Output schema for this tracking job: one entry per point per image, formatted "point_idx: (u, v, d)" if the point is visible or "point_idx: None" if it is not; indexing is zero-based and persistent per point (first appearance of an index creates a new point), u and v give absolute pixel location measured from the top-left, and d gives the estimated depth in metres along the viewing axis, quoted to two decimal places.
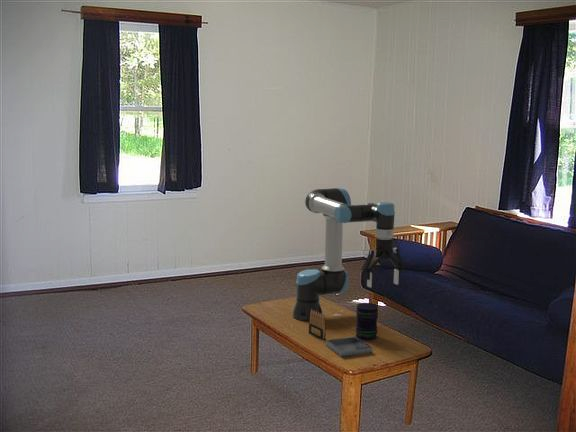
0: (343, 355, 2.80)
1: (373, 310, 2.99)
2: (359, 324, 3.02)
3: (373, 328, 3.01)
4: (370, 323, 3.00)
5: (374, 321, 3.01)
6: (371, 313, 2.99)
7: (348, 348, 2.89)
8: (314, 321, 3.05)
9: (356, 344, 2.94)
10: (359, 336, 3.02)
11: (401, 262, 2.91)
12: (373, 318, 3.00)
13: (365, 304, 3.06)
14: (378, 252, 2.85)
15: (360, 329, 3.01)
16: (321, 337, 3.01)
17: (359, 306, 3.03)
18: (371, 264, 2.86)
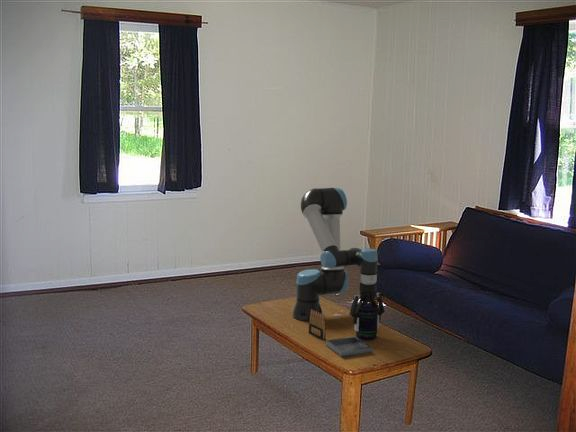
0: (343, 355, 2.80)
1: (373, 310, 2.99)
2: (359, 324, 3.02)
3: (373, 328, 3.01)
4: (370, 323, 3.00)
5: (374, 321, 3.01)
6: (371, 313, 2.99)
7: (348, 348, 2.89)
8: (314, 321, 3.05)
9: (356, 344, 2.94)
10: (359, 336, 3.02)
11: (382, 307, 3.05)
12: (373, 318, 3.00)
13: (365, 304, 3.06)
14: (362, 296, 3.00)
15: (360, 329, 3.01)
16: (321, 337, 3.01)
17: None
18: (357, 309, 3.01)
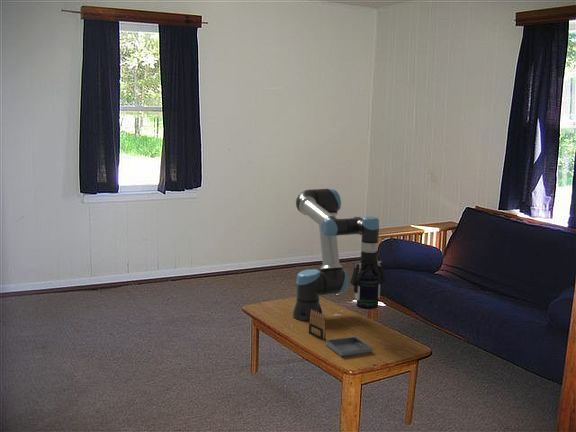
0: (343, 355, 2.80)
1: (374, 279, 2.97)
2: (360, 293, 3.00)
3: (374, 297, 2.99)
4: (371, 292, 2.98)
5: (375, 290, 2.99)
6: (372, 282, 2.97)
7: (348, 348, 2.89)
8: (314, 321, 3.05)
9: (356, 344, 2.94)
10: (360, 305, 3.00)
11: (383, 276, 3.03)
12: (374, 287, 2.98)
13: (366, 273, 3.04)
14: (363, 265, 2.98)
15: (361, 298, 2.99)
16: (321, 337, 3.01)
17: None
18: (358, 277, 2.99)
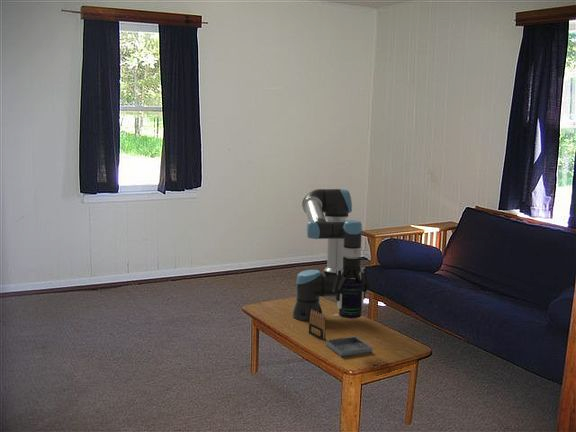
0: (343, 355, 2.80)
1: (357, 286, 2.81)
2: (342, 301, 2.83)
3: (357, 305, 2.83)
4: (354, 300, 2.82)
5: (358, 298, 2.83)
6: (355, 289, 2.81)
7: (348, 348, 2.89)
8: (314, 321, 3.05)
9: (356, 344, 2.94)
10: (342, 314, 2.84)
11: (367, 283, 2.87)
12: (357, 294, 2.82)
13: (349, 280, 2.88)
14: (345, 271, 2.82)
15: (343, 306, 2.83)
16: (321, 337, 3.01)
17: None
18: (340, 285, 2.83)
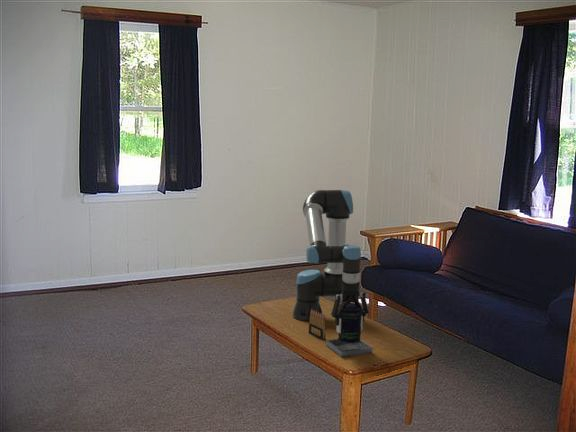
0: (343, 355, 2.80)
1: (356, 310, 2.83)
2: (341, 325, 2.85)
3: (356, 330, 2.84)
4: (353, 325, 2.83)
5: (357, 322, 2.84)
6: (354, 314, 2.82)
7: (348, 348, 2.89)
8: (314, 321, 3.05)
9: (356, 344, 2.94)
10: (341, 338, 2.86)
11: (366, 307, 2.89)
12: (356, 319, 2.83)
13: (348, 304, 2.89)
14: (344, 296, 2.83)
15: (342, 331, 2.85)
16: (321, 337, 3.01)
17: None
18: (339, 309, 2.85)
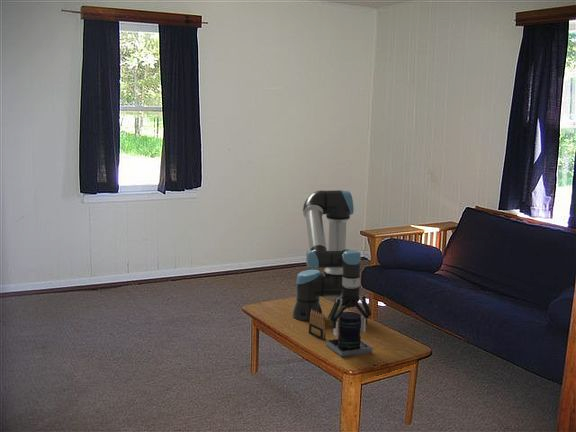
0: (343, 355, 2.80)
1: (356, 320, 2.83)
2: (341, 334, 2.86)
3: (356, 339, 2.85)
4: (352, 334, 2.84)
5: (357, 331, 2.85)
6: (354, 323, 2.83)
7: None
8: (314, 321, 3.05)
9: None
10: (341, 347, 2.87)
11: (368, 310, 2.89)
12: (356, 328, 2.84)
13: (348, 313, 2.90)
14: (344, 301, 2.84)
15: (342, 340, 2.85)
16: (321, 337, 3.01)
17: (341, 315, 2.87)
18: (337, 313, 2.84)
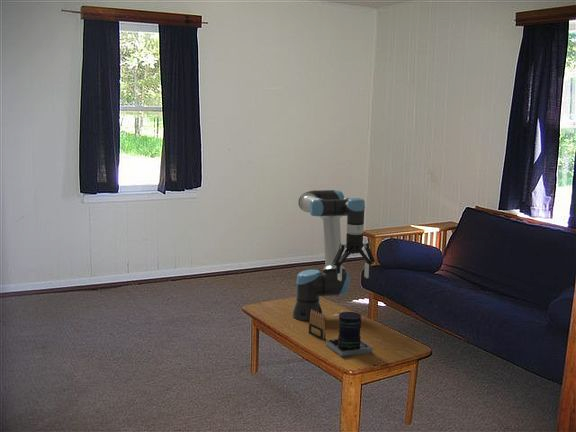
0: (343, 355, 2.80)
1: (356, 320, 2.83)
2: (341, 334, 2.86)
3: (356, 339, 2.85)
4: (352, 334, 2.84)
5: (357, 331, 2.85)
6: (354, 323, 2.83)
7: None
8: (314, 321, 3.05)
9: None
10: (341, 347, 2.87)
11: (371, 256, 2.98)
12: (356, 328, 2.84)
13: (348, 313, 2.90)
14: (348, 247, 2.93)
15: (342, 340, 2.85)
16: (321, 337, 3.01)
17: (341, 315, 2.87)
18: (341, 258, 2.94)
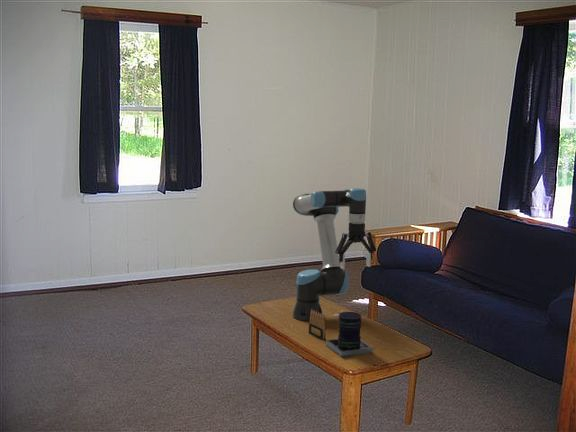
0: (343, 355, 2.80)
1: (356, 320, 2.83)
2: (341, 334, 2.86)
3: (356, 339, 2.85)
4: (352, 334, 2.84)
5: (357, 331, 2.85)
6: (354, 323, 2.83)
7: None
8: (314, 321, 3.05)
9: None
10: (341, 347, 2.87)
11: (373, 245, 3.06)
12: (356, 328, 2.84)
13: (348, 313, 2.90)
14: (351, 235, 3.01)
15: (342, 340, 2.85)
16: (321, 337, 3.01)
17: (341, 315, 2.87)
18: (344, 247, 3.01)
